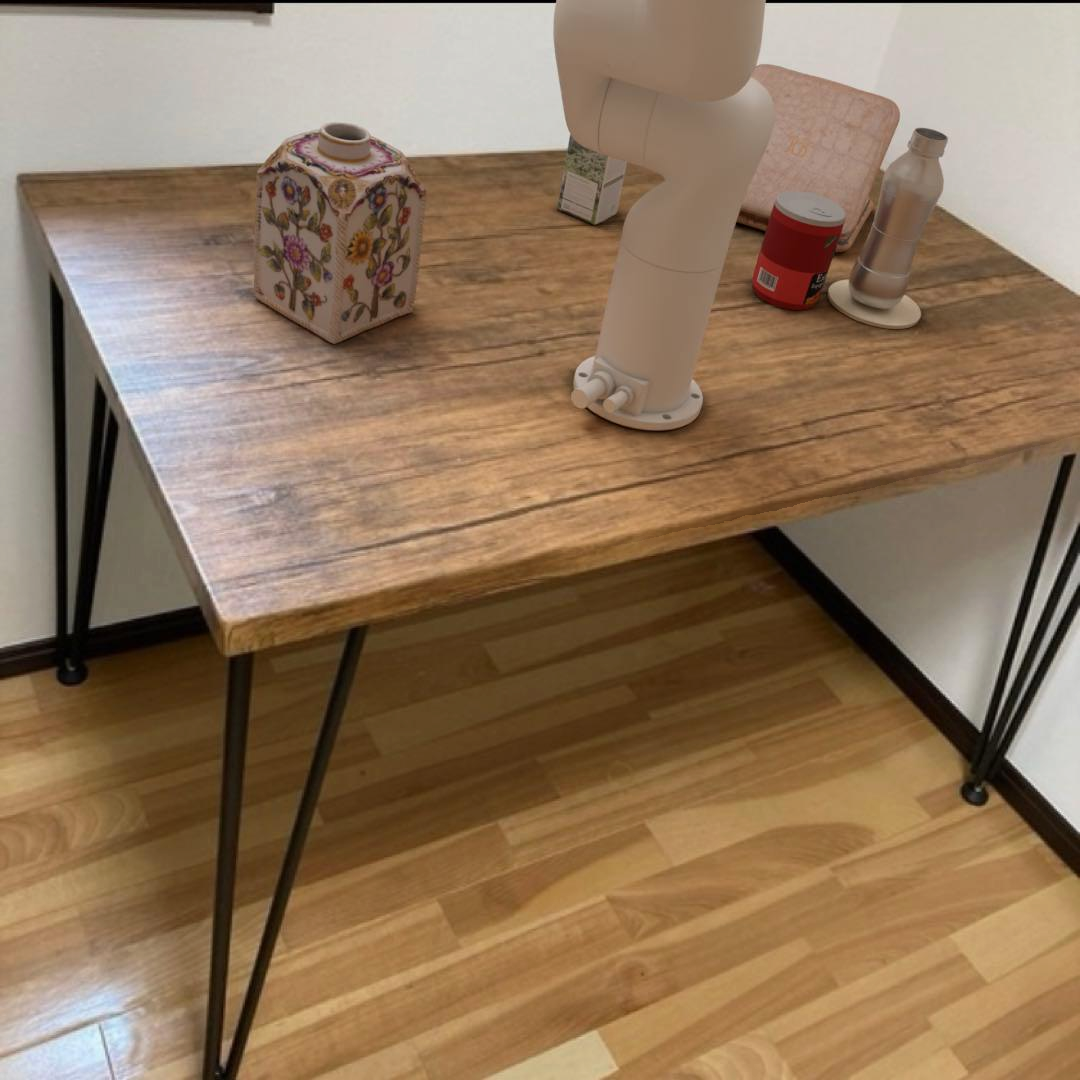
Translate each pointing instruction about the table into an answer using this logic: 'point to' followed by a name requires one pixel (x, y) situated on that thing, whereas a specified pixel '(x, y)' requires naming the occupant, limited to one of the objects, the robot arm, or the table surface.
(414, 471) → the table surface
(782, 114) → the case
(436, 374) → the table surface
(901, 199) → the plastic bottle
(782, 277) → the canned food
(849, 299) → the coaster
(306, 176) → the decorative jar
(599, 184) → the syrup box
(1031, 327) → the table surface
